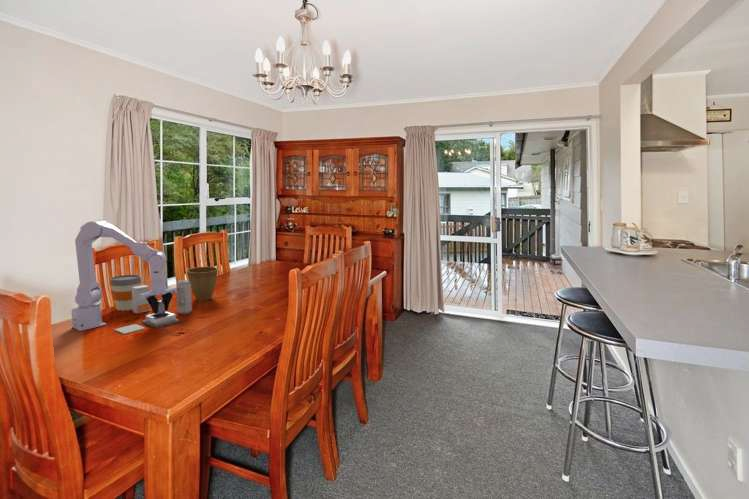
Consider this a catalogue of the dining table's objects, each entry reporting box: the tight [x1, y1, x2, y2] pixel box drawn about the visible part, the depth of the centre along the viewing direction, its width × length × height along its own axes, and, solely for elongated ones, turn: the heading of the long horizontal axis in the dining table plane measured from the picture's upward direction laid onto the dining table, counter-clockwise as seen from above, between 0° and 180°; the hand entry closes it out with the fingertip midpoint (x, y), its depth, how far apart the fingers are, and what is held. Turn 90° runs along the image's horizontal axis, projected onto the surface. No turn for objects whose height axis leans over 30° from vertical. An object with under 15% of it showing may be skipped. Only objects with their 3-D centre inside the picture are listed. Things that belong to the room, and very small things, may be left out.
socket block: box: [141, 311, 181, 329], centre depth 166 cm, size 10×12×3 cm
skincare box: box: [132, 284, 151, 314], centre depth 180 cm, size 6×4×12 cm
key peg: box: [155, 299, 166, 318], centre depth 166 cm, size 4×4×8 cm
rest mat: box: [114, 323, 146, 335], centre depth 157 cm, size 8×8×1 cm
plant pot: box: [186, 266, 219, 302], centre depth 203 cm, size 15×15×16 cm
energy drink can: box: [175, 279, 193, 315], centre depth 180 cm, size 6×6×15 cm
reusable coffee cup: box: [109, 274, 142, 312], centre depth 184 cm, size 13×12×15 cm
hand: (160, 311), depth 166 cm, fingers closed on key peg, 4 cm apart
